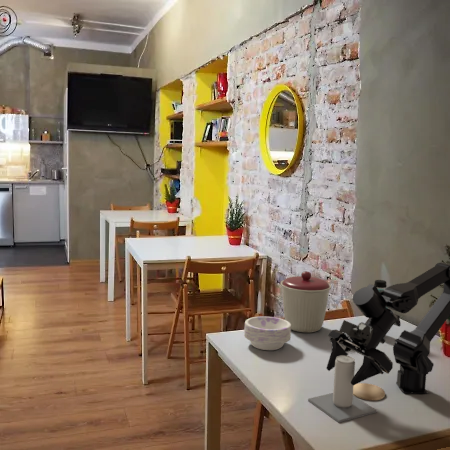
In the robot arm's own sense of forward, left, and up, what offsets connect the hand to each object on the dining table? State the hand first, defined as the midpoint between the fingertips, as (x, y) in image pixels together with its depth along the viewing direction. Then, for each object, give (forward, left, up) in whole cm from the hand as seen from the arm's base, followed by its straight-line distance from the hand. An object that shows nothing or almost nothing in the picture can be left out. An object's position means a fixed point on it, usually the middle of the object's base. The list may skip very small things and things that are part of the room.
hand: (339, 376), depth 131 cm
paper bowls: (+14, -42, -8) cm, 45 cm away
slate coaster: (-1, -1, -8) cm, 8 cm away
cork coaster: (-10, -9, -8) cm, 16 cm away
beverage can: (-1, -1, -8) cm, 8 cm away
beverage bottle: (-26, -54, -8) cm, 60 cm away
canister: (-1, -60, -8) cm, 60 cm away
